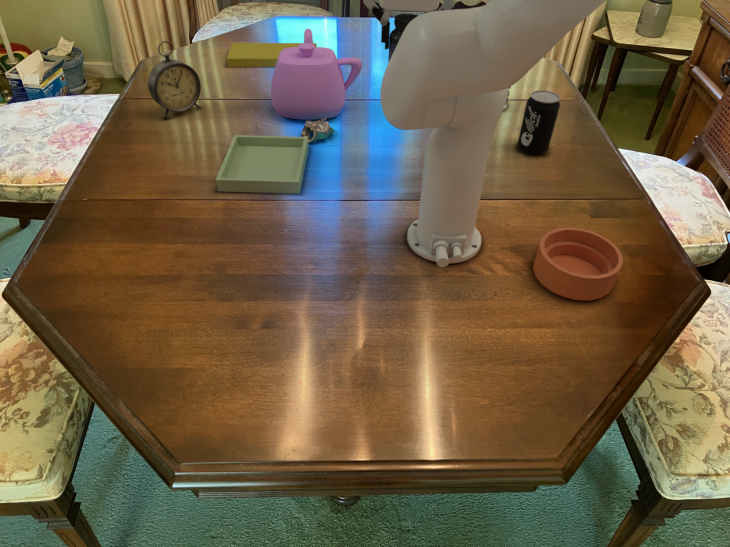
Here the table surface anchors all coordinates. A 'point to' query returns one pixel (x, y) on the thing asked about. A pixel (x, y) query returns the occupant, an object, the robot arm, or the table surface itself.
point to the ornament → (317, 130)
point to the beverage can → (538, 122)
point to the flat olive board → (256, 54)
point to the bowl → (577, 263)
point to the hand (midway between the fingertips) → (405, 46)
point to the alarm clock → (174, 84)
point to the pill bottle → (398, 30)
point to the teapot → (310, 81)
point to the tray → (263, 164)
